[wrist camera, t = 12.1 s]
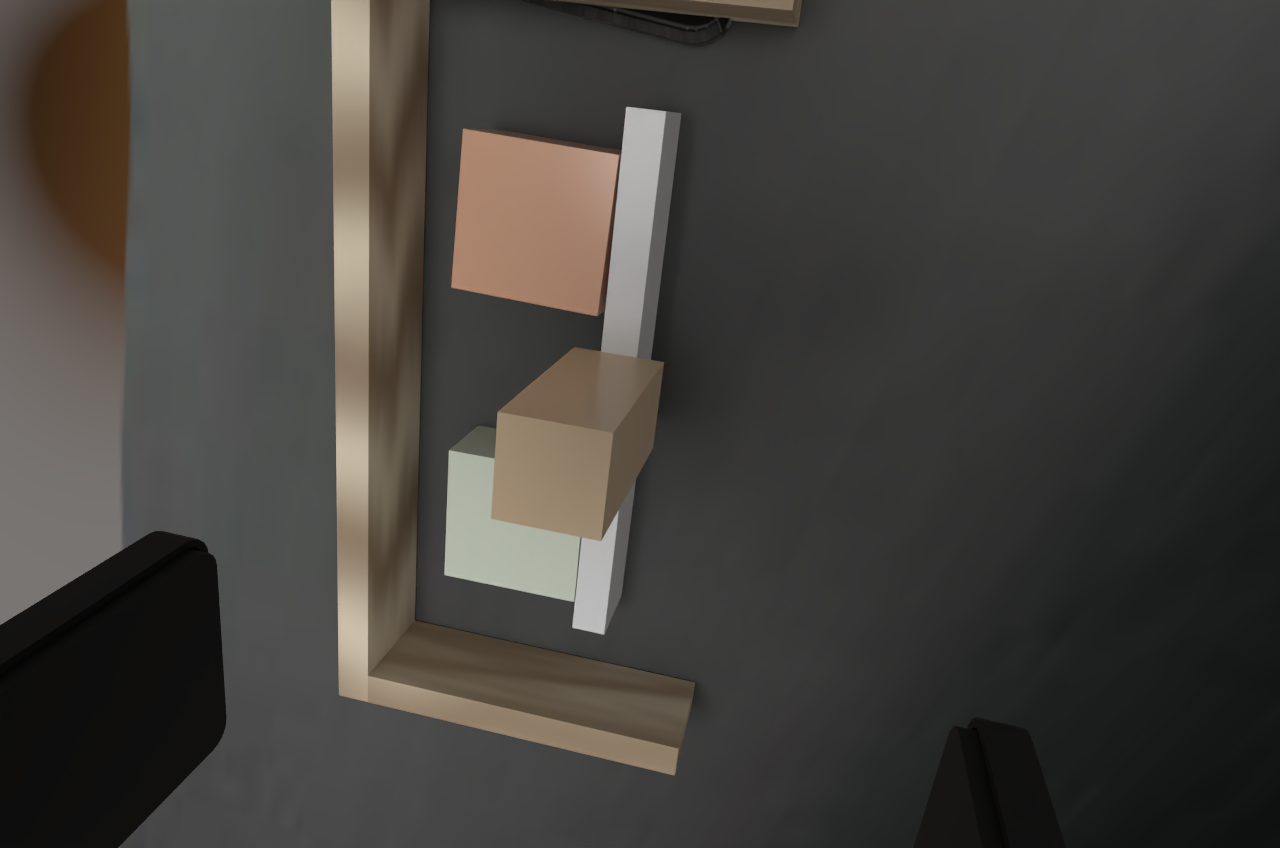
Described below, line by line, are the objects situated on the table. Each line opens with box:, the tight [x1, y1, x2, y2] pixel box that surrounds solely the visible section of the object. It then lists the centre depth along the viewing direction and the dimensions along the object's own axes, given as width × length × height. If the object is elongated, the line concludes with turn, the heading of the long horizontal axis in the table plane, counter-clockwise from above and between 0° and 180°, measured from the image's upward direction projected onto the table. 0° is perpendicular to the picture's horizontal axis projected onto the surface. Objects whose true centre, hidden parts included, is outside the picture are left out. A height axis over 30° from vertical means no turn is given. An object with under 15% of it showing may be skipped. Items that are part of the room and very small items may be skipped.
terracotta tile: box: [451, 129, 622, 316], centre depth 29 cm, size 5×5×3 cm
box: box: [331, 0, 802, 775], centre depth 30 cm, size 26×13×4 cm, turn 173°
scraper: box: [491, 107, 682, 635], centre depth 27 cm, size 18×3×10 cm, turn 173°
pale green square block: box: [444, 426, 582, 602], centre depth 32 cm, size 5×5×3 cm
